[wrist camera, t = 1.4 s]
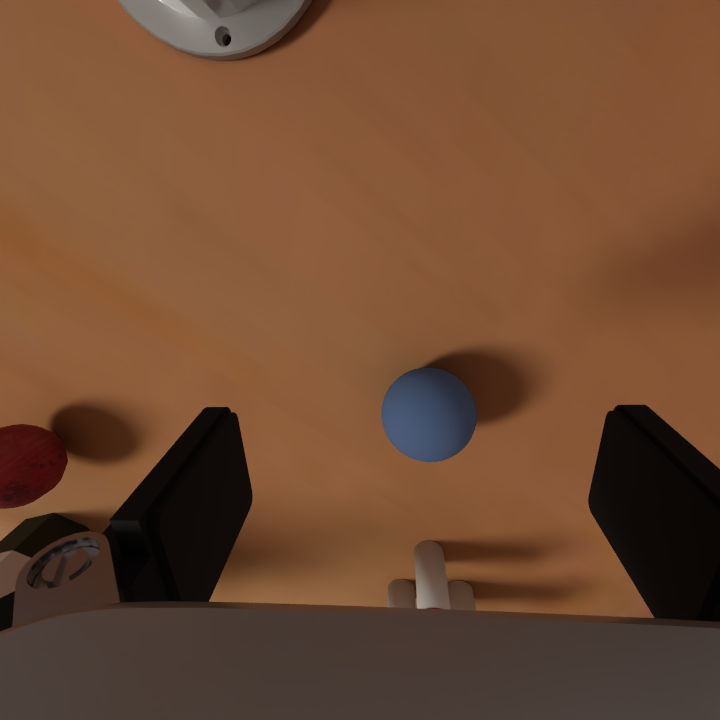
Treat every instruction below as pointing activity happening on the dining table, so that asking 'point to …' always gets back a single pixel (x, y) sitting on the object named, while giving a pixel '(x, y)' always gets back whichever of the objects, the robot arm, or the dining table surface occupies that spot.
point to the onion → (29, 464)
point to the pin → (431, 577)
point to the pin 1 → (401, 594)
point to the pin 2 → (461, 596)
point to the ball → (429, 414)
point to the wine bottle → (30, 545)
